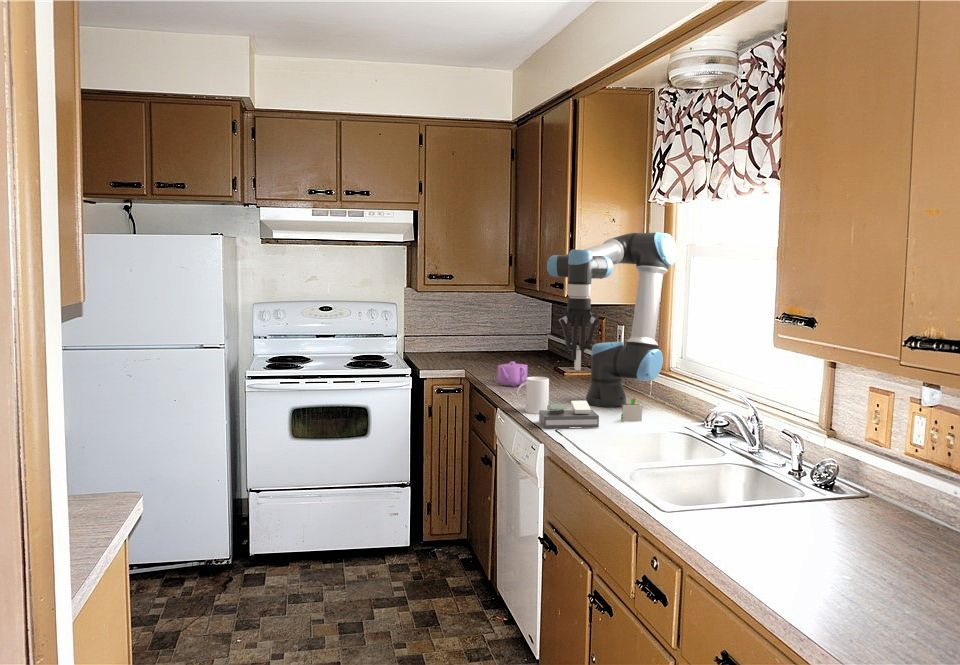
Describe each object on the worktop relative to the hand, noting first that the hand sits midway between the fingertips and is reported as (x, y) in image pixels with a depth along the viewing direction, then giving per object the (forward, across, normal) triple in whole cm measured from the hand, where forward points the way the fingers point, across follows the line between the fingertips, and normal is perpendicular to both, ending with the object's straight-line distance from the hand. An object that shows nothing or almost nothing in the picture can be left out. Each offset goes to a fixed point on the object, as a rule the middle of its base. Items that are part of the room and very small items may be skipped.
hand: (577, 369), depth 264 cm
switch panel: (+19, +2, -3) cm, 19 cm away
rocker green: (+14, +6, -3) cm, 15 cm away
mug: (+19, +10, -25) cm, 33 cm away
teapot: (+19, +10, -79) cm, 82 cm away
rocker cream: (+14, -2, -3) cm, 14 cm away
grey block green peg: (+19, -21, -8) cm, 30 cm away
